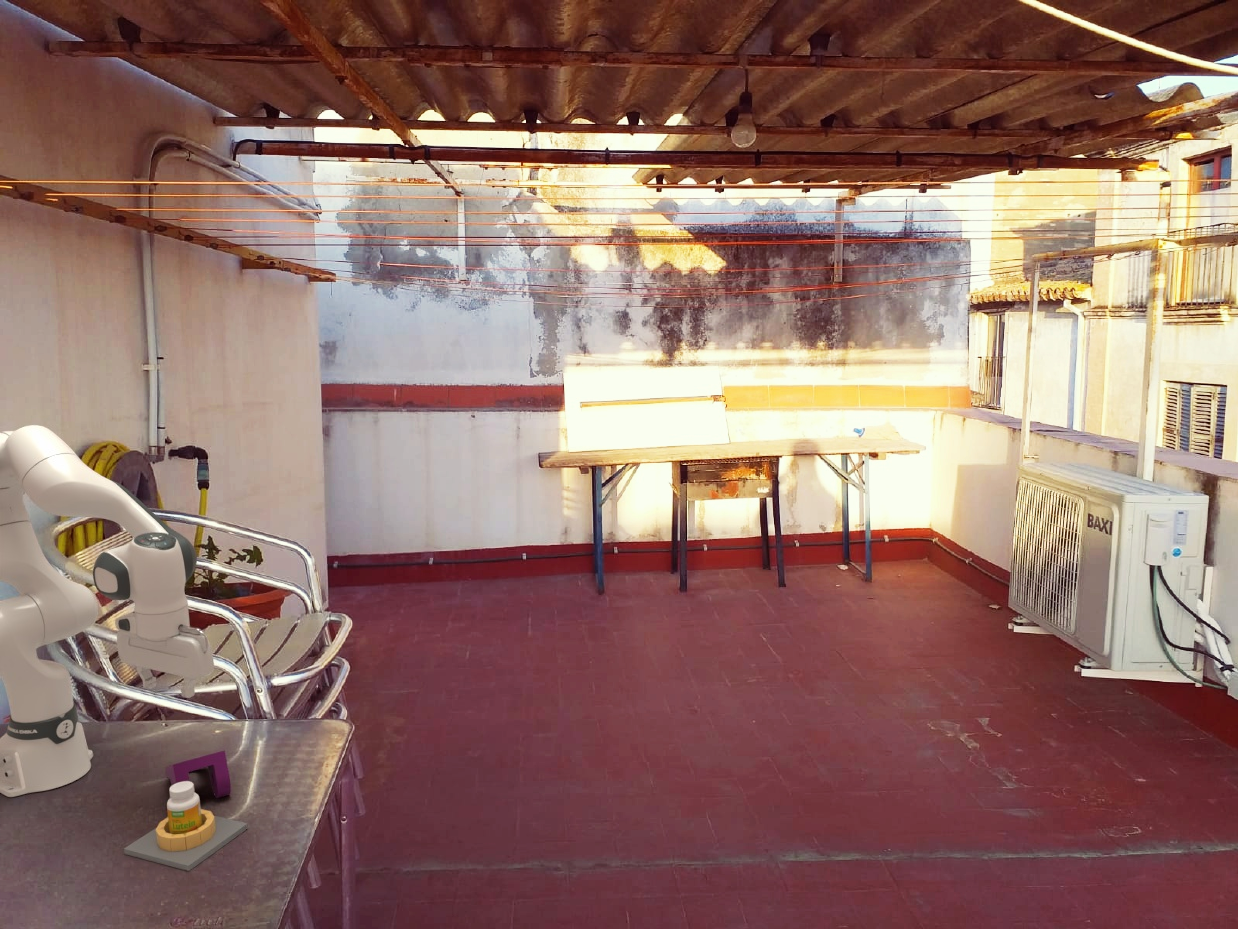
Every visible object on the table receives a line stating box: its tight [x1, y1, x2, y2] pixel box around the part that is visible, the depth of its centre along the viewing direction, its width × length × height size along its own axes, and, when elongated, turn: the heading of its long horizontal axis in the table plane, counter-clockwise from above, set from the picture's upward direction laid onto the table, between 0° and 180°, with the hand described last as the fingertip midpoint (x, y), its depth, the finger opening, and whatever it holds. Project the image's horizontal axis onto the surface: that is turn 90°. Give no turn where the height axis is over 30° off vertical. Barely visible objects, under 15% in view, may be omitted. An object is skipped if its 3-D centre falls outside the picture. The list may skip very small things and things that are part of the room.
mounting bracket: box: [164, 750, 232, 799], centre depth 192 cm, size 10×8×18 cm
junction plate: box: [123, 808, 249, 872], centre depth 173 cm, size 15×14×4 cm
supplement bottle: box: [166, 781, 202, 834], centre depth 173 cm, size 5×5×10 cm
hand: (169, 691), depth 178 cm, fingers open, 8 cm apart
